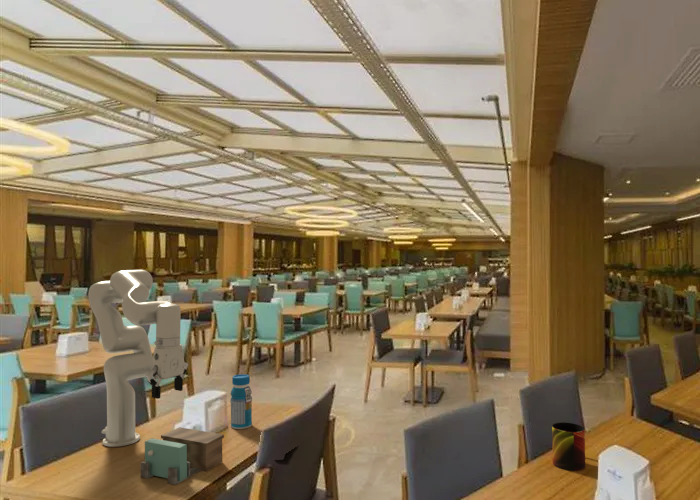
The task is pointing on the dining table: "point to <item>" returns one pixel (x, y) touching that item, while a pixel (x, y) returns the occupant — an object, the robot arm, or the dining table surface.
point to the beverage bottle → (241, 402)
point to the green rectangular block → (166, 457)
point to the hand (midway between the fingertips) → (167, 393)
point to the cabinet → (192, 452)
